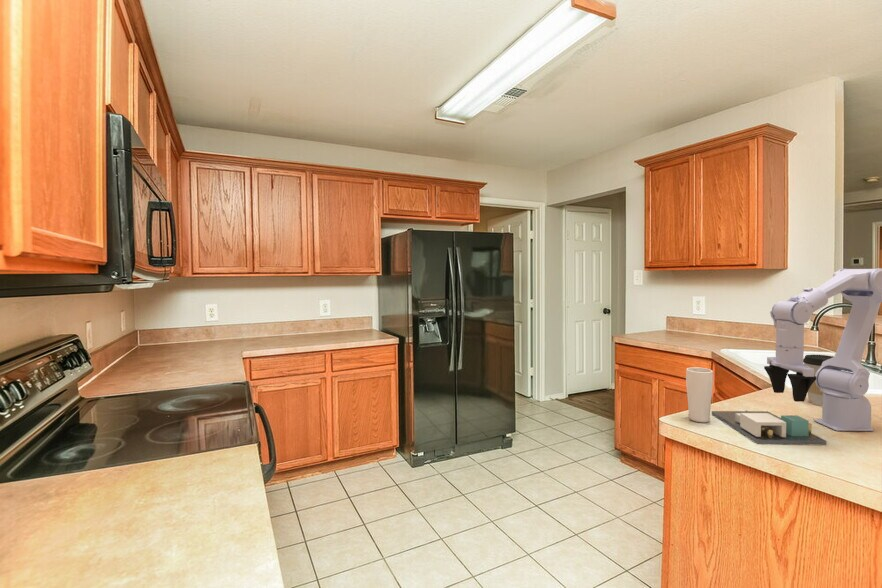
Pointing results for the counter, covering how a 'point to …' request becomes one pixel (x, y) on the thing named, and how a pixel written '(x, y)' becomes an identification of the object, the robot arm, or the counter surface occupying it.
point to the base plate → (767, 431)
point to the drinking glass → (699, 393)
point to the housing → (760, 423)
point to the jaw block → (796, 425)
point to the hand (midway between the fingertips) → (788, 396)
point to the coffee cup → (814, 363)
